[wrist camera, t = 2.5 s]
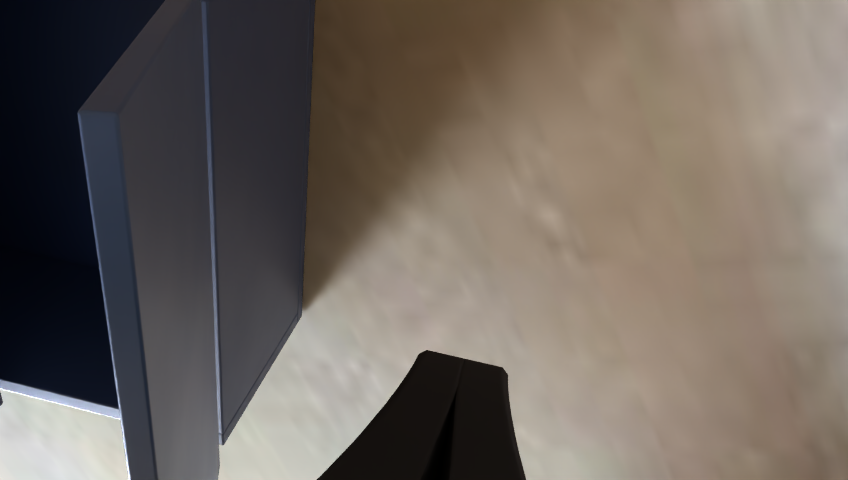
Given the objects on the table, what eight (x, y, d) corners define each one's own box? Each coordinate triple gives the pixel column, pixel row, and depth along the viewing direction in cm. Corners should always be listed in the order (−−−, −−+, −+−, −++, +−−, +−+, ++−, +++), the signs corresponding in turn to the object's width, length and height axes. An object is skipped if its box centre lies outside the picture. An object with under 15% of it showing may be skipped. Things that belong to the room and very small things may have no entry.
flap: (177, -17, 10) (201, -14, 10) (204, 466, 16) (219, 465, 16) (76, 110, 6) (118, 113, 6) (161, 718, 11) (183, 717, 12)
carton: (318, -63, 16) (183, -19, 10) (302, 316, 21) (209, 470, 16) (-106, -134, 17) (-422, -127, 11) (-17, 243, 22) (-202, 364, 17)
